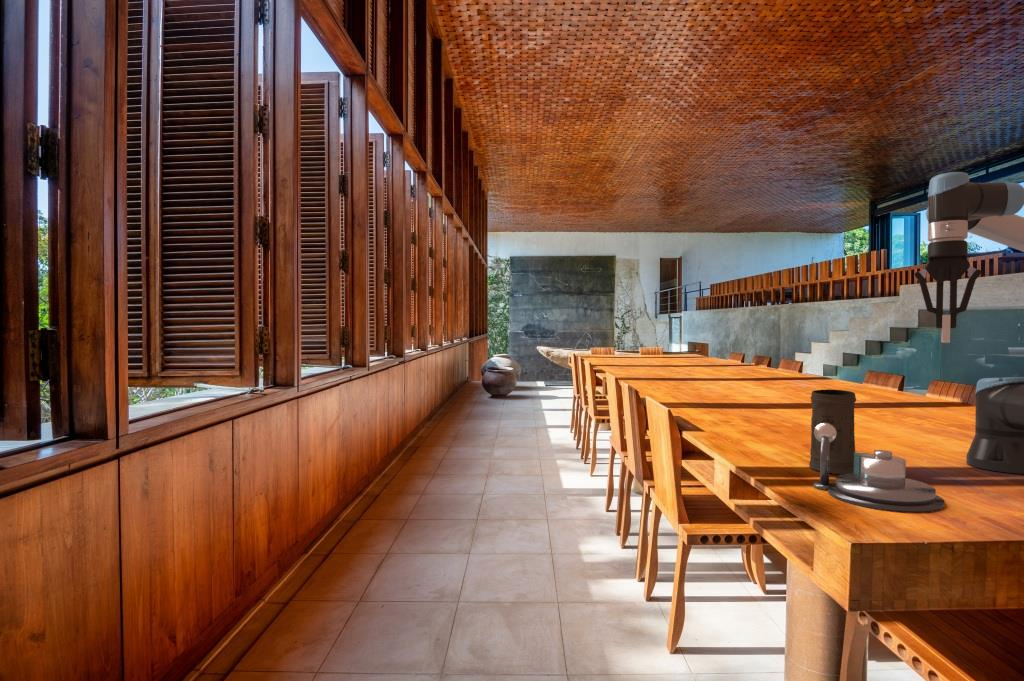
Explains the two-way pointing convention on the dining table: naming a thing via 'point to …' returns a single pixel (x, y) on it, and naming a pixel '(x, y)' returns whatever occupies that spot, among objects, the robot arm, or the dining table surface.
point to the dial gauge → (824, 453)
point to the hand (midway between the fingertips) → (945, 342)
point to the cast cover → (883, 470)
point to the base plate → (924, 508)
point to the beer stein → (840, 414)
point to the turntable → (909, 496)
